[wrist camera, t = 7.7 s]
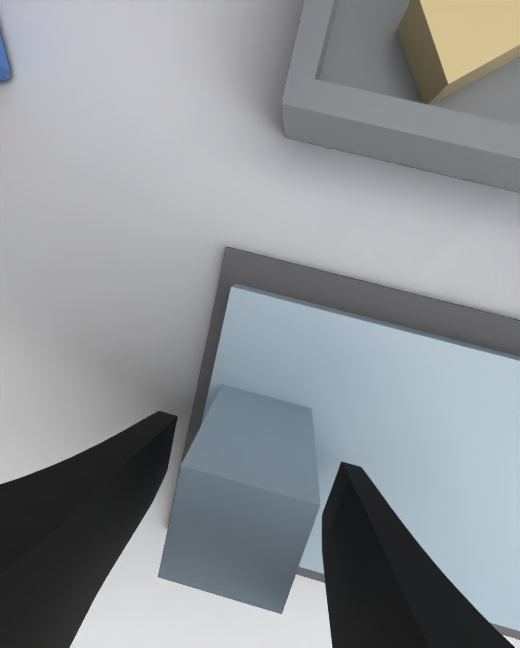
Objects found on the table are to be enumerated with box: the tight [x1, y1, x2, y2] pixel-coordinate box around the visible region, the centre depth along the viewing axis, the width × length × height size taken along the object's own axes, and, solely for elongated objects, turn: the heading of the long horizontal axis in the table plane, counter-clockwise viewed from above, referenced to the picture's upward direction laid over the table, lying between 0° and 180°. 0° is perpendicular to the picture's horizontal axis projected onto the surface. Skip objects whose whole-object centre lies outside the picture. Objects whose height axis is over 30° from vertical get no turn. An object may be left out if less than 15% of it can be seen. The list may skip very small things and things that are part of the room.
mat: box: [182, 247, 520, 640], centre depth 12 cm, size 16×12×1 cm
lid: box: [158, 283, 520, 631], centre depth 9 cm, size 15×10×5 cm, turn 76°
